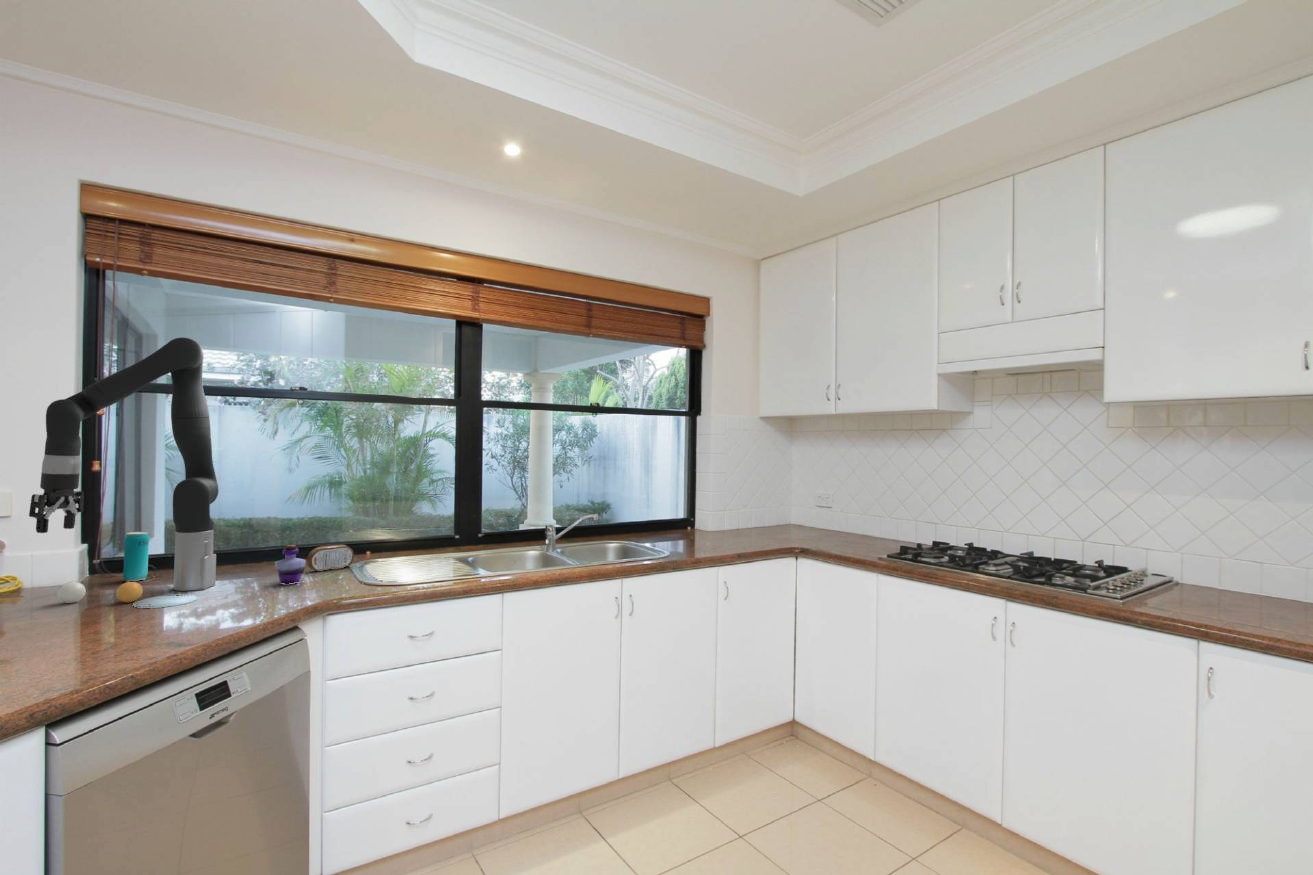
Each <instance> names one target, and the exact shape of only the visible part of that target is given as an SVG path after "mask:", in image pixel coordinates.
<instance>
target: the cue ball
mask: <svg viewBox="0 0 1313 875" xmlns="http://www.w3.org/2000/svg"><path fill="white" fill-rule="evenodd" d="M86 591H87V590H86V587H85V585H84V584H83V583H80V582H77V581H73V582H68V583H65V584H63V585H62V586H61V587H60V588H59V589H58V592H57V597H58V599H59V600H60V601H61V602H63V603H65V604H66V603H67V604H73V603H77V602H79V601H80V600H82V599H83V598H84V597H85V595H86V593H87V592H86Z"/></svg>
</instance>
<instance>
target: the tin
mask: <svg viewBox="0 0 1313 875" xmlns="http://www.w3.org/2000/svg"><path fill="white" fill-rule="evenodd" d="M354 558H355V552H354V550H353V549H352V548H351V547H349V546H348V545H346V544H335V545H333V544H332V545H323V546H318V547H317V546H316V548H313V549H312V550H311V551H310V552H309V553H308V555H307V557H306V565H307V566H308V568H309V569H310V570H312V569H313V571H315V570H318V569H328V568H331V567H341V566H344V565H349V566H351V564H352V563H353V561H354Z"/></svg>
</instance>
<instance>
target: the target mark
mask: <svg viewBox="0 0 1313 875" xmlns="http://www.w3.org/2000/svg"><path fill="white" fill-rule="evenodd" d="M167 595H168V594H166V596H165V595H158V596H153V597H147V598H143V599H139V600H136V601H133V603H132V604H133V605H132V604H131V606H132V607H133V606H134V607H133V608H135V607H136V606H140V607H137V608H136V609H143V608H150V609H160V608H161V609H162V607H164V608H169V607H168V606H172V607H177V605H178V606H181V605H180V604H182V605H186V603H187V604H190V603H192V602H195V601H196V600H198V596H197V595H193V594H182V593H181V594H179V595H180V596H176V595H177V594H174V595H175V596H167ZM181 595H183V596H181ZM184 595H185V596H184ZM187 595H188V596H187ZM189 595H190V596H189ZM191 595H192V596H191ZM194 600H195V601H194ZM189 602H190V603H189ZM136 604H138V605H136ZM148 604H151V605H148ZM143 606H144V607H143ZM145 606H146V607H145ZM149 606H151V607H149ZM152 606H153V607H152Z"/></svg>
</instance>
